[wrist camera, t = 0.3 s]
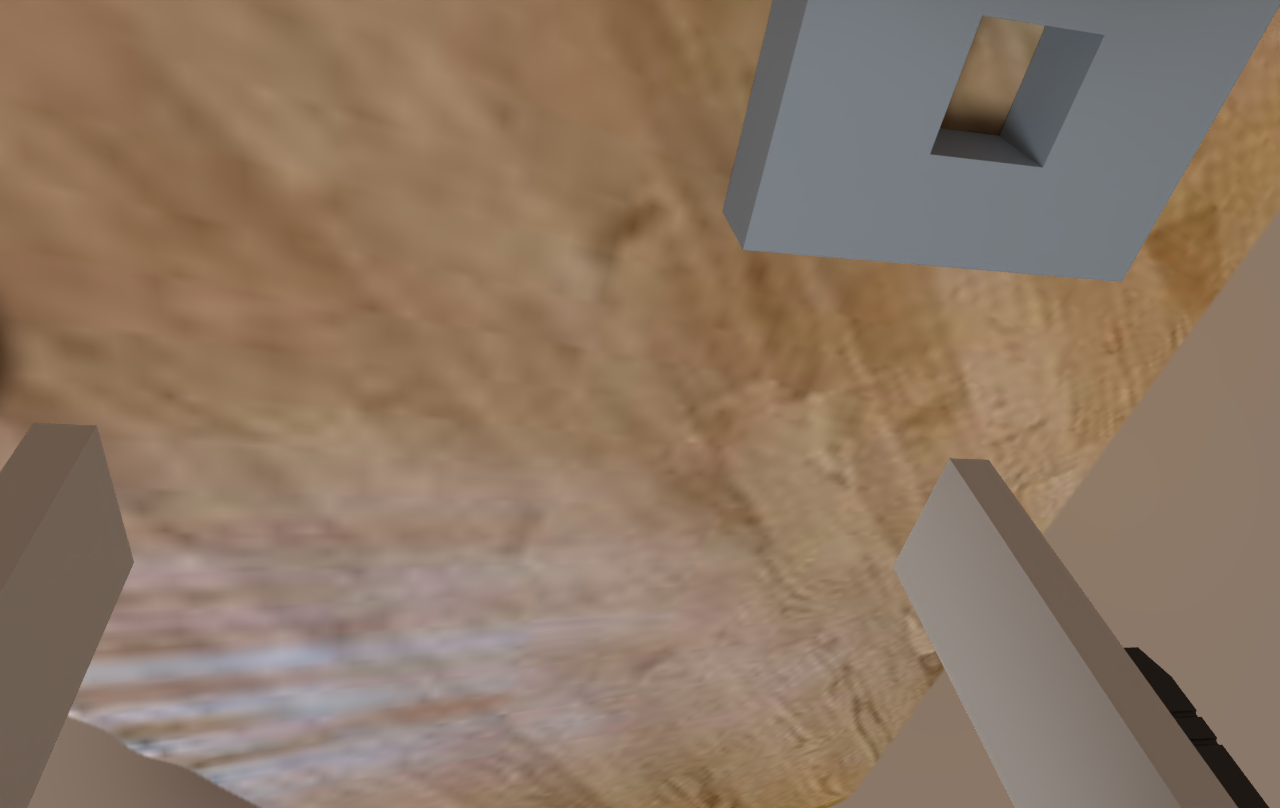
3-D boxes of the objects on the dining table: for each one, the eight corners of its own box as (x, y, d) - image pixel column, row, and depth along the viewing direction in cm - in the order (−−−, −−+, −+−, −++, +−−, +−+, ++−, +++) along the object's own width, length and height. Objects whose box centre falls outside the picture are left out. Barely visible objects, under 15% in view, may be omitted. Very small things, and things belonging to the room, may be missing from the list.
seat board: (817, -186, 31) (854, -181, 28) (1254, -96, 35) (1329, -82, 32) (722, 211, 40) (742, 249, 37) (1077, 245, 45) (1121, 281, 42)
